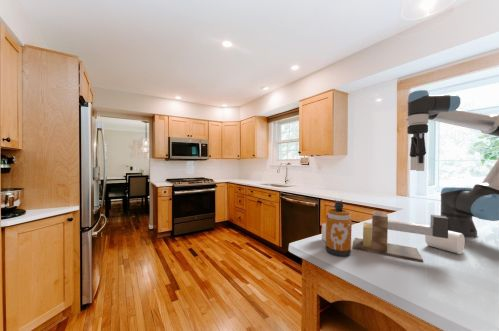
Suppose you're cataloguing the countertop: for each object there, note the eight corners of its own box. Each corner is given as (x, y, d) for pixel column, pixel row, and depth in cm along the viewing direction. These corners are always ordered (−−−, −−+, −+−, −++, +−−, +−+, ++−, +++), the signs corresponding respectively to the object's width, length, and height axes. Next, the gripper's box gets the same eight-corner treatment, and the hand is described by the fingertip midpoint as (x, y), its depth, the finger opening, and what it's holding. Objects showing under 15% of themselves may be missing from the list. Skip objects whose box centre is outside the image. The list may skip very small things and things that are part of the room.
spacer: (371, 241, 90) (371, 223, 90) (371, 248, 83) (371, 228, 83) (363, 240, 91) (363, 222, 91) (362, 246, 84) (363, 226, 84)
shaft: (444, 235, 77) (444, 216, 76) (447, 238, 73) (448, 218, 73) (380, 226, 86) (380, 209, 86) (380, 228, 83) (380, 211, 83)
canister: (325, 254, 78) (326, 201, 78) (325, 244, 88) (326, 197, 88) (352, 259, 75) (353, 203, 75) (349, 247, 85) (350, 198, 85)
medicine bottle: (346, 243, 89) (346, 215, 89) (332, 245, 87) (332, 216, 87) (334, 237, 96) (335, 211, 96) (321, 239, 94) (322, 212, 94)
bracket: (416, 250, 84) (417, 215, 84) (423, 262, 73) (424, 222, 73) (355, 239, 95) (355, 208, 95) (353, 248, 84) (353, 213, 84)
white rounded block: (457, 256, 79) (457, 235, 79) (424, 247, 87) (425, 228, 87) (467, 250, 85) (468, 230, 85) (436, 241, 93) (436, 224, 93)
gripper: (403, 129, 110) (402, 169, 110) (412, 120, 88) (411, 171, 88) (421, 128, 106) (420, 170, 107) (436, 119, 85) (435, 171, 85)
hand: (416, 170), depth 98 cm, fingers open, 13 cm apart
